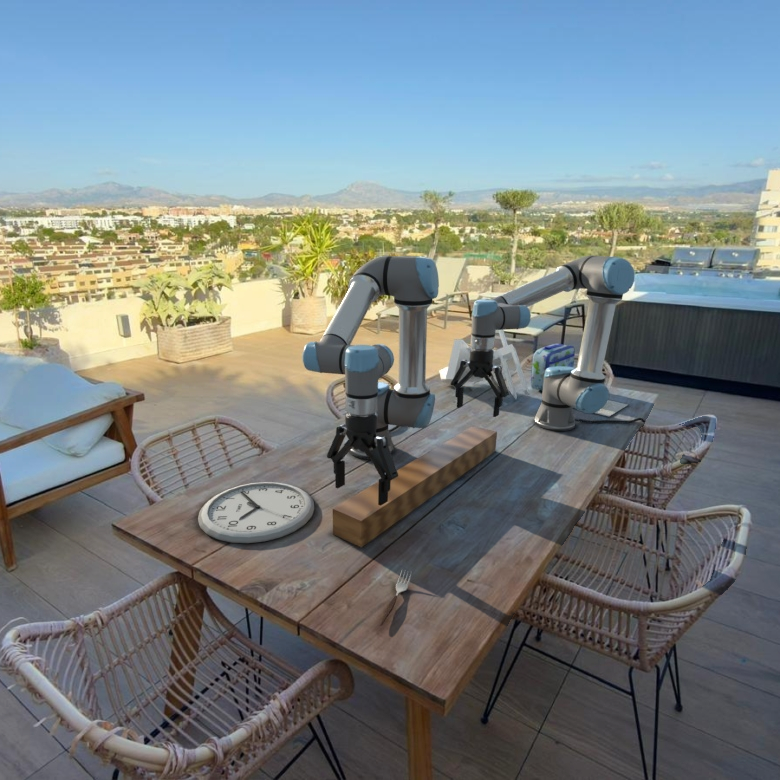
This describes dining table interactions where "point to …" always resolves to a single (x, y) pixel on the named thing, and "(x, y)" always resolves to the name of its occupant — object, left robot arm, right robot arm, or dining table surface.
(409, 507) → the wide beam
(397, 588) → the fork
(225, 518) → the wall clock
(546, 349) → the lunch box
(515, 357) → the white plastic object
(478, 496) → the dining table surface
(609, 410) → the invitation card
